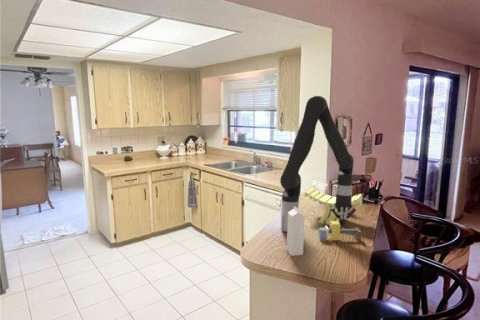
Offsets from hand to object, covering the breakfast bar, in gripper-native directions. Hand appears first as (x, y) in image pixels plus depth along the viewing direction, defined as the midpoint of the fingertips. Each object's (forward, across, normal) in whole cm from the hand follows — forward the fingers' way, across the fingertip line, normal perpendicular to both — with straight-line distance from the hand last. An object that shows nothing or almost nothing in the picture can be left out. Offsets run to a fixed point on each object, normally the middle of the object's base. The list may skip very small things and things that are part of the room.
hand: (342, 225), depth 155 cm
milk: (+8, -26, -16) cm, 32 cm away
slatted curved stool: (+8, +3, +28) cm, 29 cm away
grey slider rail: (+4, -1, 0) cm, 4 cm away
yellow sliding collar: (+7, -4, 0) cm, 8 cm away
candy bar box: (+8, +13, +49) cm, 51 cm away
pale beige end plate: (+5, -8, 0) cm, 9 cm away
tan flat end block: (+7, +8, 0) cm, 11 cm away
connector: (+7, -10, 0) cm, 12 cm away
